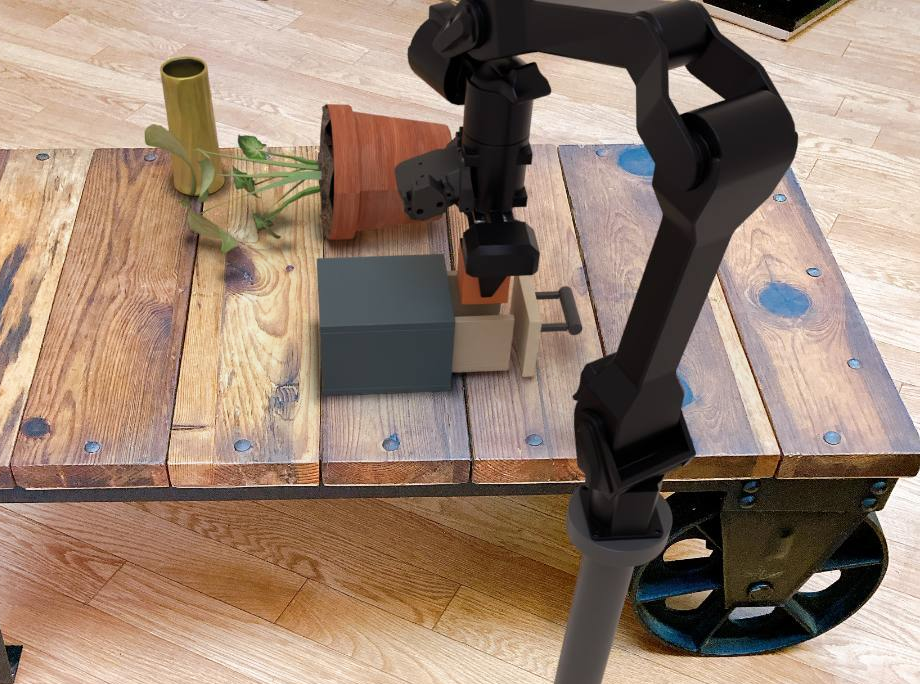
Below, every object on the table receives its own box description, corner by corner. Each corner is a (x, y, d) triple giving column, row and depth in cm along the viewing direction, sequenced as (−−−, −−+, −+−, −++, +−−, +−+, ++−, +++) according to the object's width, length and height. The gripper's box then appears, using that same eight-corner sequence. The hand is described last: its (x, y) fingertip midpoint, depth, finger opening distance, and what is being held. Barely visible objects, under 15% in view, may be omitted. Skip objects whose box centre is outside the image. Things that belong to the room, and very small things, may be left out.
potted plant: (424, 196, 134) (129, 196, 129) (441, 78, 122) (117, 73, 117) (445, 280, 125) (128, 284, 119) (466, 161, 113) (115, 159, 107)
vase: (165, 178, 134) (146, 62, 123) (211, 163, 136) (196, 49, 125) (187, 202, 130) (170, 86, 119) (233, 187, 132) (221, 71, 121)
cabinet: (440, 322, 116) (444, 253, 109) (450, 390, 109) (455, 321, 102) (320, 327, 115) (316, 258, 109) (323, 396, 108) (319, 326, 102)
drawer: (563, 314, 115) (572, 260, 110) (579, 374, 109) (589, 319, 104) (410, 320, 115) (412, 265, 109) (418, 381, 109) (420, 326, 103)
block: (507, 303, 105) (512, 264, 102) (461, 304, 105) (464, 266, 102) (501, 275, 108) (505, 236, 105) (456, 276, 108) (459, 238, 104)
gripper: (393, 77, 99) (392, 227, 111) (410, 193, 87) (406, 347, 99) (516, 74, 100) (502, 223, 112) (550, 189, 88) (529, 342, 100)
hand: (483, 280), depth 106 cm, fingers closed on block, 4 cm apart
